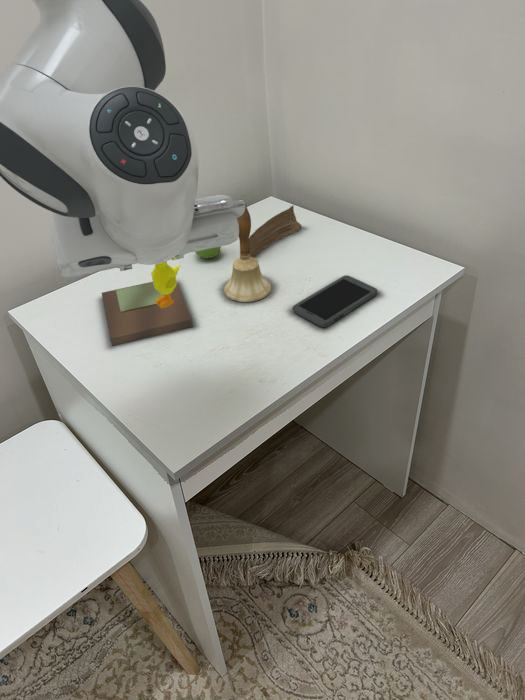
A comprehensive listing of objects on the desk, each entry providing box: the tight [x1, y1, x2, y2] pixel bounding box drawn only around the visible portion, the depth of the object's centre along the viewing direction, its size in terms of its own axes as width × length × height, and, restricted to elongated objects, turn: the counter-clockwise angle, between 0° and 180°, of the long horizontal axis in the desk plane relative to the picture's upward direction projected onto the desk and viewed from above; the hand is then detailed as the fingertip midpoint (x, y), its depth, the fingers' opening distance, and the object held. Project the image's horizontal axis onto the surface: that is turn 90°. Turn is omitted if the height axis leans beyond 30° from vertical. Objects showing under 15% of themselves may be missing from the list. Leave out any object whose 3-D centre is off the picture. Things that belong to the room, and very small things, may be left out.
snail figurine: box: [195, 246, 222, 259], centre depth 102 cm, size 5×6×12 cm
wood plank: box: [249, 205, 302, 258], centre depth 107 cm, size 15×2×5 cm, turn 143°
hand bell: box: [223, 202, 272, 303], centre depth 91 cm, size 8×8×16 cm
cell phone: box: [292, 275, 379, 328], centre depth 91 cm, size 7×14×1 cm, turn 132°
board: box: [101, 281, 194, 346], centre depth 91 cm, size 13×14×2 cm
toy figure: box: [150, 261, 181, 308], centre depth 67 cm, size 7×4×12 cm, turn 130°
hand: (150, 258), depth 67 cm, fingers closed on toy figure, 5 cm apart
